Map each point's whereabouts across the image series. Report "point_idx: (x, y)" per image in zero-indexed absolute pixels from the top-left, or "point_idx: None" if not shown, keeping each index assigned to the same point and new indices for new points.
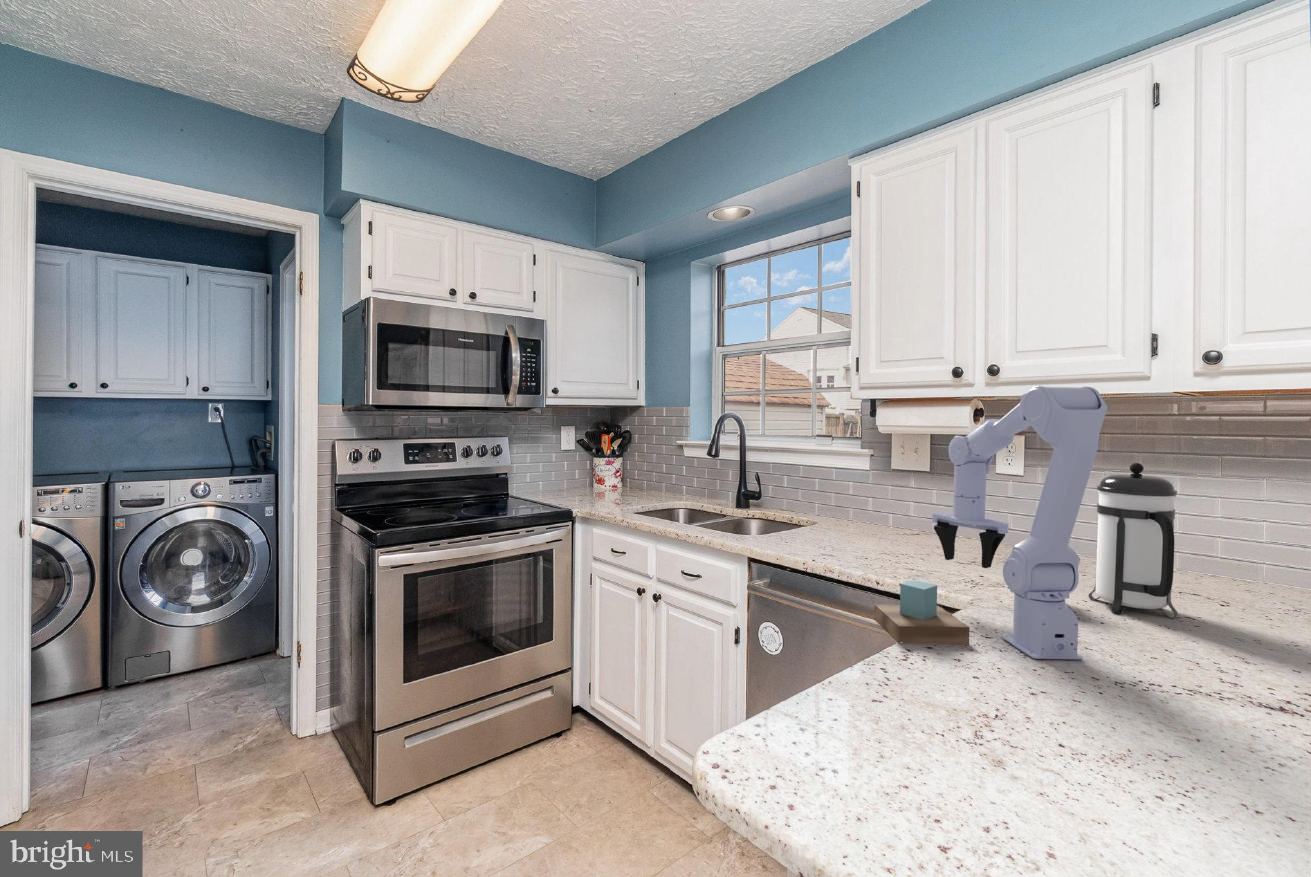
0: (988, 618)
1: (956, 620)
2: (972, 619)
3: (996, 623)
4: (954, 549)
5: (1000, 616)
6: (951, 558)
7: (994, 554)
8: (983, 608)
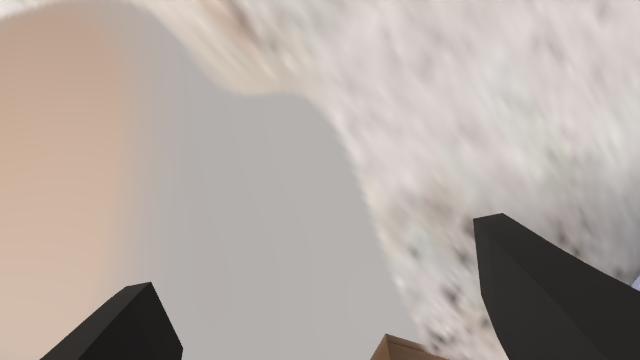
0: (456, 145)
1: None
2: (434, 220)
3: (517, 168)
4: (104, 336)
5: (464, 63)
6: (161, 315)
7: (592, 269)
8: (336, 34)
